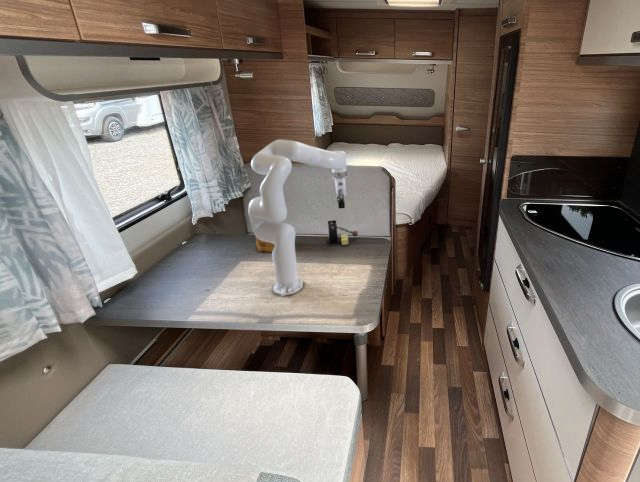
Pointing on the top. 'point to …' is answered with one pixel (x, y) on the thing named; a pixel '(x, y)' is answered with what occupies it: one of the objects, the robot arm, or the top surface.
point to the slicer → (332, 232)
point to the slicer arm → (347, 230)
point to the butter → (344, 239)
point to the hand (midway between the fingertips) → (341, 204)
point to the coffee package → (264, 246)
